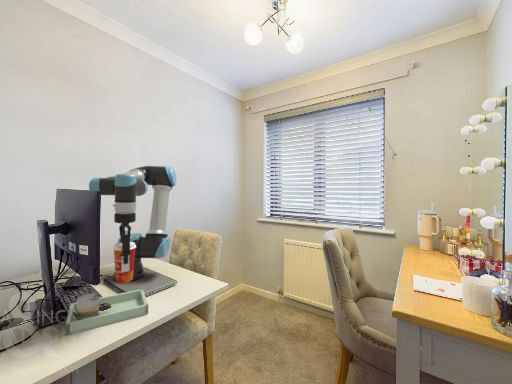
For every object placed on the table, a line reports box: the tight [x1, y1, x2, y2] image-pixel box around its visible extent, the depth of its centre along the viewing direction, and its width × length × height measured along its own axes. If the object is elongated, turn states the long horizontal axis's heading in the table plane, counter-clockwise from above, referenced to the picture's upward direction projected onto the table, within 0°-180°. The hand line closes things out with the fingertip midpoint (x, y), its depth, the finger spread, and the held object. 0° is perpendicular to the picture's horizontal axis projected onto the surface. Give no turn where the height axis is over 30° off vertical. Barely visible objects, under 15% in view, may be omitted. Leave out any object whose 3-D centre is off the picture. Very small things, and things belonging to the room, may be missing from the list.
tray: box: [64, 288, 149, 336], centre depth 93 cm, size 16×26×4 cm, turn 123°
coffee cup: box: [112, 242, 136, 284], centre depth 94 cm, size 8×8×15 cm
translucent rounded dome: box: [76, 292, 100, 321], centre depth 89 cm, size 7×7×8 cm
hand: (124, 267), depth 94 cm, fingers closed on coffee cup, 8 cm apart
